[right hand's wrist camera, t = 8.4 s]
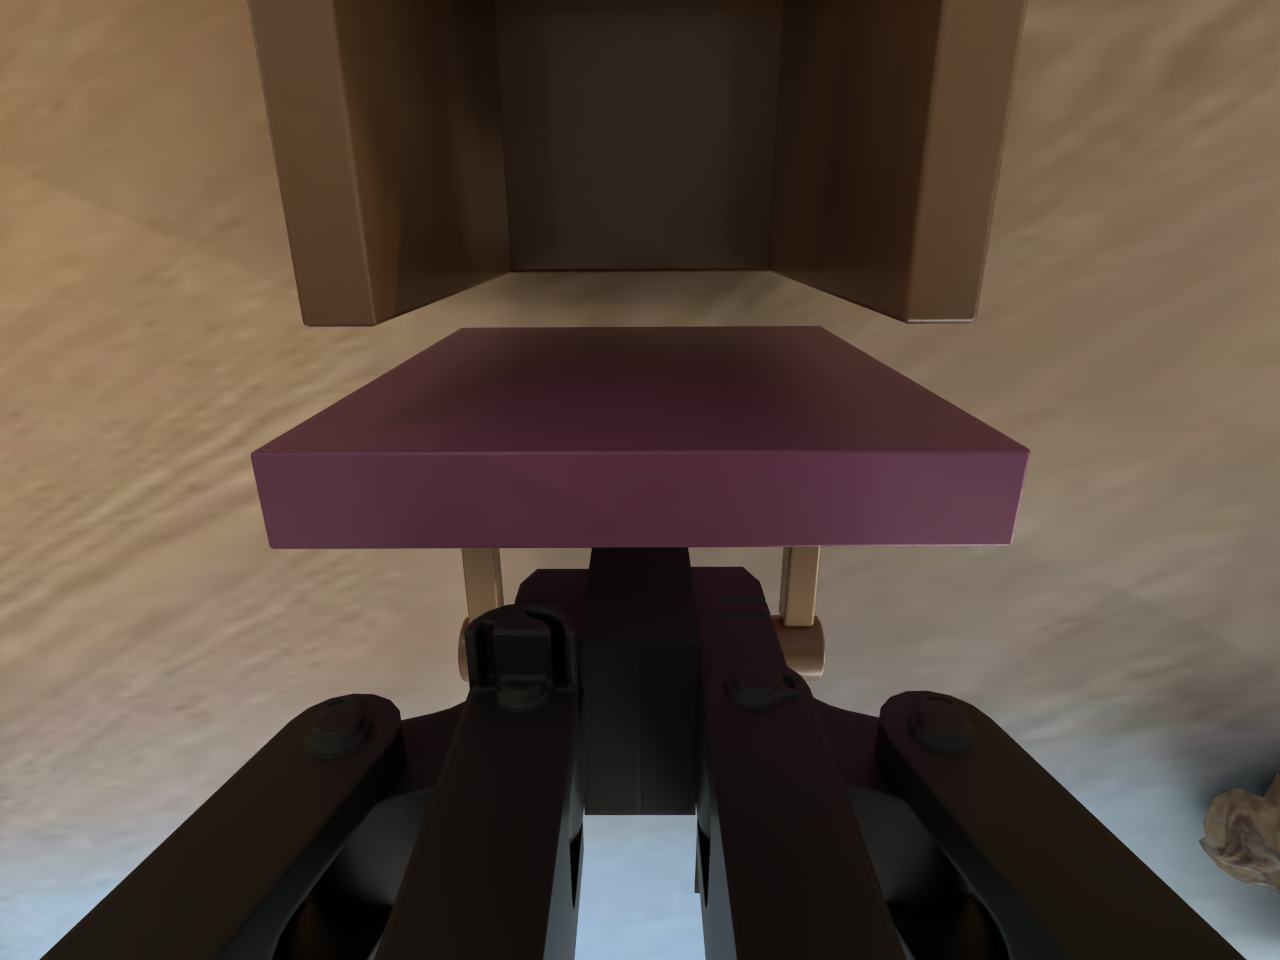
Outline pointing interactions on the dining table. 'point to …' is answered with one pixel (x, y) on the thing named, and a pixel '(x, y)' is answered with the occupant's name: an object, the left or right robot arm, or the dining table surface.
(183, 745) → the dining table surface
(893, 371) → the drawer
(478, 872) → the right robot arm
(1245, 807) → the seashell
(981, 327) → the dining table surface
